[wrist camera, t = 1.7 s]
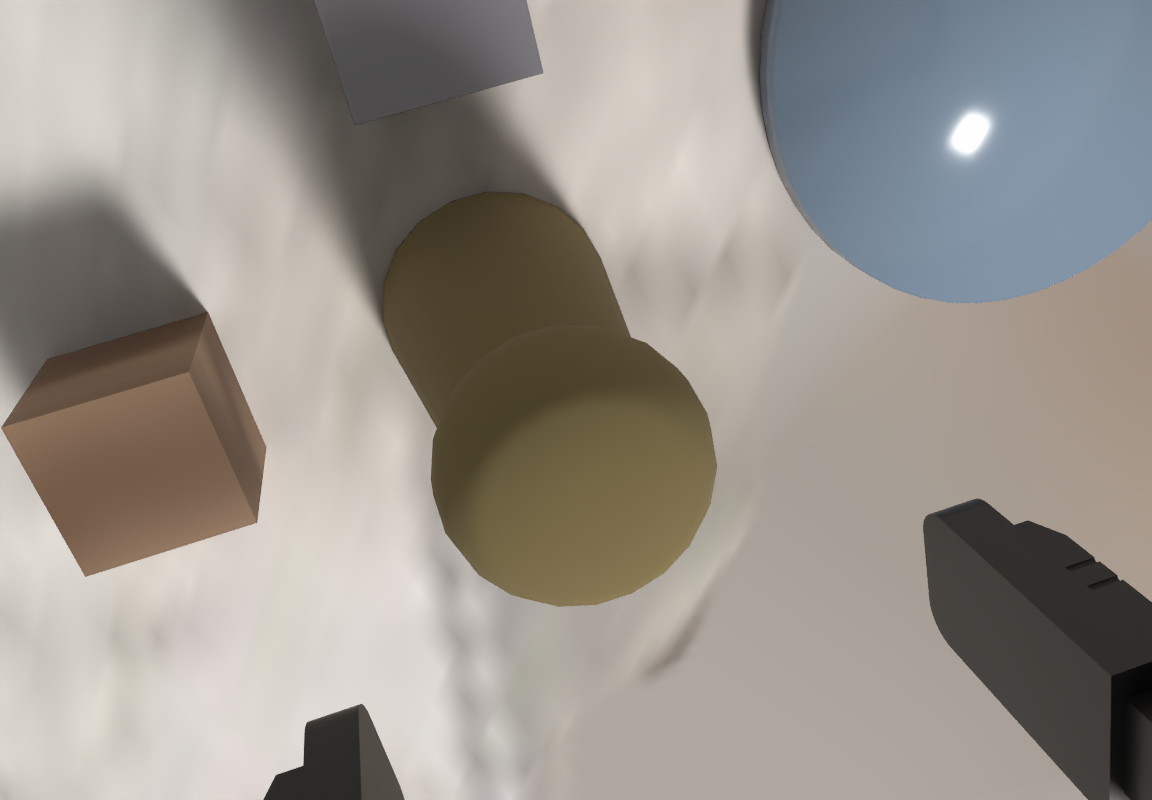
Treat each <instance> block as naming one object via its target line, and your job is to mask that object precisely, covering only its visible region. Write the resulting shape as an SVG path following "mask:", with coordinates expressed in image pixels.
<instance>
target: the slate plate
mask: <svg viewBox="0 0 1152 800" xmlns="http://www.w3.org/2000/svg"><path fill="white" fill-rule="evenodd" d="M760 87H761V100H762V112H763V117H764V122H765V127H766V132H767V137H768V142H769V146H770V149H771V152H772V155H773V158H774V161H775V164H776V167H777V169H778V172H779V175H780V178H781V180H782V182H783V184H784V186H785V187H786V189H787V191H788V193H789V195H790V197H791V199H792V201H793V203H794V205H795V206H796V208H797V209H798V211H799V212H800V213H801V215H802V216H803V218H804V219H805V220H806V222H807V223H808V225H809V226H810V227H811V229H812V230H813V231H814V232H815V233H816V234H817V235H818V236H819V237H820V238H821V239H822V240H823V241H824V242H825V243H826V244H827V245H828V246H829V247H830V248H831V249H832V250H833V251H835V252H836V253H837V254H839V255H840V256H841V257H842V258H844V259H845V260H846V261H848V262H849V263H850V264H852V265H853V266H855V267H856V268H858V269H860V270H861V271H863V272H865V273H866V274H868V275H869V276H871V277H873V278H875V279H877V280H879V281H881V282H883V283H885V284H886V285H888V286H890V287H892V288H894V289H897V290H900V291H902V292H905V293H909V294H911V295H914V296H917V297H920V298H925V299H931V300H937V301H943V302H949V303H950V302H951V303H983V302H991V301H1000V300H1006V299H1011V298H1015V297H1019V296H1022V295H1026V294H1030V293H1034V292H1037V291H1040V290H1042V289H1045V288H1047V287H1050V286H1053V285H1055V284H1058V283H1060V282H1063V281H1064V280H1067V279H1069V278H1070V277H1073V276H1074V275H1076V274H1078V273H1080V272H1082V271H1084V270H1086V269H1088V268H1090V267H1091V266H1093V265H1094V264H1096V263H1097V262H1099V261H1100V260H1102V259H1103V258H1105V257H1106V256H1108V255H1109V254H1111V253H1112V252H1114V251H1115V250H1117V249H1118V248H1119V247H1120V246H1122V245H1123V244H1124V243H1125V242H1127V241H1128V240H1129V239H1130V238H1131V237H1133V236H1134V235H1135V234H1137V233H1138V232H1139V231H1140V230H1141V229H1143V228H1144V227H1145V226H1146V224H1148V223H1149V222H1150V221H1151V220H1152V0H767V5H766V11H765V18H764V24H763V30H762V36H761V56H760Z"/></svg>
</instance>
